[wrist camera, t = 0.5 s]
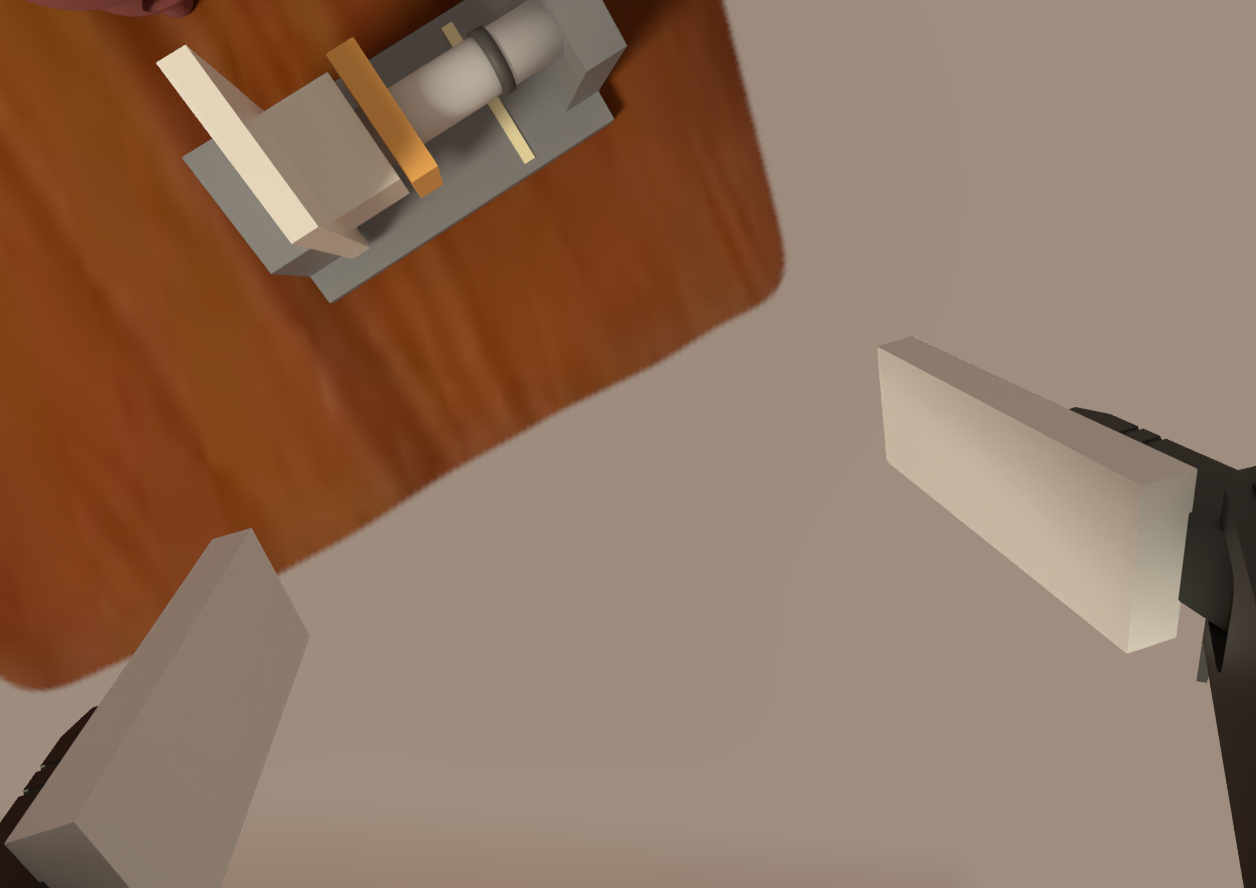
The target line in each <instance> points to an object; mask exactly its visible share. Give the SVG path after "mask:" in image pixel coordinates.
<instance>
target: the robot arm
mask: <svg viewBox="0 0 1256 888" xmlns="http://www.w3.org/2000/svg"><path fill="white" fill-rule="evenodd" d="M877 350H878V362H879V373H880V386H881V397H882V410H883V422H884V433H885V445H886V457H887V462H888V463H890V464H891V465H892V466H894V467H895V468H896V469H897V470H898V471H900V472H901V473H902V474H904V475H905V476H906V477H907V478H908V479H910V480H911V481H912V482H913V483H915V484H916V485H917V486H919V487H920V488H921V489H922V490H923V491H925V492H926V493H927V494H928V495H930V496H931V497H932V498H933V499H935V500H936V501H937V502H938V503H940V504H941V505H942V506H943V507H945V508H946V509H947V510H948V511H950V512H951V513H952V514H953V515H955V516H956V517H957V518H958V519H960V520H961V521H962V522H963V523H965V524H966V525H967V526H968V527H970V528H971V529H972V530H974V531H975V532H976V533H977V534H978V535H980V536H981V537H982V538H983V539H985V540H986V541H987V542H988V543H990V544H991V545H992V546H993V547H995V548H996V549H997V550H998V551H1000V552H1001V553H1002V554H1003V555H1005V556H1006V557H1007V558H1008V559H1010V560H1011V561H1012V562H1014V563H1015V564H1016V565H1017V566H1018V567H1020V568H1021V569H1022V570H1023V571H1025V572H1026V573H1027V574H1028V575H1030V576H1031V577H1032V578H1033V579H1035V580H1036V581H1037V582H1038V583H1040V584H1041V585H1042V586H1043V587H1044V588H1046V589H1047V590H1048V591H1049V592H1051V593H1052V594H1053V595H1054V596H1056V597H1057V598H1058V599H1059V600H1061V601H1062V602H1063V603H1064V604H1066V605H1067V606H1068V607H1069V608H1071V609H1072V610H1073V611H1074V612H1076V613H1077V614H1078V615H1079V616H1081V617H1082V618H1083V619H1084V620H1086V621H1087V622H1088V623H1090V624H1091V625H1092V626H1093V627H1094V628H1096V629H1097V630H1098V631H1099V632H1101V633H1102V634H1103V635H1104V636H1106V637H1107V638H1108V639H1109V640H1111V641H1112V642H1113V643H1114V644H1116V645H1117V646H1118V647H1119V648H1121V649H1122V650H1123V651H1125V652H1126V653H1130V652H1133V651H1136V650H1139V649H1142V648H1145V647H1148V646H1151V645H1154V644H1157V643H1160V642H1163V641H1166V640H1169V639H1172V638H1175V637H1176V634H1177V626H1178V618H1179V611H1180V603H1181V602H1182V603H1183V604H1185V605H1186V606H1188V607H1189V608H1191V609H1192V610H1194V611H1195V612H1197V613H1198V614H1200V615H1201V616H1203V617H1204V618H1206V620H1205V627H1204V634H1203V641H1202V647H1201V654H1200V661H1199V668H1198V675H1197V681H1199V682H1205V683H1206V682H1207V680H1208V676H1209V681H1210V687H1211V692H1212V699H1213V705H1214V710H1215V717H1216V723H1217V728H1218V735H1219V741H1220V747H1221V752H1222V759H1223V765H1224V771H1225V777H1226V783H1227V789H1228V794H1229V801H1230V807H1231V812H1232V819H1233V825H1234V831H1235V837H1236V843H1237V849H1238V855H1239V860H1240V867H1241V873H1242V879H1243V884H1244V888H1256V466H1254V467H1250V468H1246V469H1241V470H1236V469H1234V468H1232V467H1229V466H1227V465H1225V464H1222V463H1220V462H1218V461H1216V460H1213V459H1211V458H1209V457H1207V456H1204V455H1202V454H1200V453H1198V452H1195V451H1193V450H1191V449H1188V448H1186V447H1184V446H1182V445H1179V444H1177V443H1174V442H1173V441H1170V440H1168V439H1164V440H1162V439H1161V437H1160V436H1159V435H1157V434H1154V433H1152V432H1150V431H1147V430H1145V429H1140V430H1139V429H1138V426H1136V425H1134V424H1132V423H1129V422H1127V421H1125V420H1122V419H1120V418H1118V417H1116V416H1113V415H1111V414H1107V413H1101V412H1097V411H1092V410H1087V409H1082V408H1077V407H1075V408H1071V409H1067V408H1064V407H1062V406H1060V405H1058V404H1056V403H1054V402H1052V401H1049V400H1047V399H1045V398H1043V397H1041V396H1039V395H1036V394H1034V393H1032V392H1030V391H1028V390H1026V389H1023V388H1021V387H1019V386H1017V385H1015V384H1013V383H1011V382H1008V381H1006V380H1004V379H1002V378H1000V377H998V376H995V375H993V374H991V373H989V372H987V371H985V370H982V369H980V368H978V367H976V366H974V365H972V364H969V363H967V362H965V361H963V360H961V359H959V358H956V357H954V356H952V355H950V354H948V353H946V352H943V351H941V350H939V349H937V348H935V347H933V346H930V345H928V344H926V343H924V342H922V341H920V340H917V339H915V338H913V337H908V338H905V339H901V340H898V341H895V342H891V343H888V344H884V345H881V346H877ZM309 637H310V636H309V634H308V632H307V630H306V628H305V626H304V624H303V622H302V621H301V619H300V617H299V615H298V613H297V611H296V610H295V608H294V606H293V604H292V602H291V600H290V599H289V597H288V595H287V593H286V591H285V589H284V587H283V585H282V584H281V582H280V580H279V578H278V576H277V574H276V572H275V571H274V569H273V567H272V565H271V563H270V561H269V560H268V558H267V556H266V554H265V552H264V550H263V548H262V547H261V545H260V543H259V541H258V539H257V537H256V535H255V534H254V532H253V530H252V528H250V529H247V530H243V531H240V532H236V533H233V534H229V535H226V536H222V537H219V538H216V539H212V541H211V542H210V544H209V545H208V547H207V548H206V549H205V551H204V552H203V554H202V555H201V557H200V558H199V560H198V561H197V563H196V564H195V566H194V567H193V569H192V570H191V571H190V573H189V574H188V576H187V577H186V579H185V580H184V582H183V583H182V585H181V586H180V588H179V589H178V590H177V592H176V593H175V595H174V596H173V598H172V599H171V601H170V602H169V604H168V605H167V607H166V608H165V609H164V611H163V612H162V614H161V615H160V617H159V618H158V620H157V621H156V623H155V624H154V626H153V627H152V628H151V630H150V631H149V633H148V634H147V636H146V637H145V639H144V640H143V642H142V643H141V645H140V646H139V647H138V649H137V650H136V652H135V653H134V655H133V656H132V658H131V659H130V661H129V662H128V664H127V665H126V666H125V668H124V669H123V671H122V672H121V674H120V675H119V677H118V678H117V680H116V681H115V683H114V684H113V685H112V687H111V688H110V690H109V691H108V693H107V694H106V696H105V697H104V699H103V700H102V702H101V703H100V705H99V706H96V707H93V708H92V709H91V710H89V711H88V712H87V713H86V714H85V715H84V716H83V717H82V718H81V719H80V720H79V721H78V722H77V723H75V724H74V725H73V726H72V727H71V728H70V729H69V730H68V731H67V732H66V733H65V734H64V735H63V736H62V737H61V738H60V739H59V741H58V742H57V744H56V745H55V746H54V748H53V749H52V751H51V752H50V753H49V755H48V756H47V757H46V759H45V760H44V762H43V763H42V765H41V766H40V767H41V771H38V772H36V773H35V775H34V776H33V777H32V779H31V780H30V781H29V783H28V785H27V786H26V787H25V788H24V790H23V792H24V795H23V796H20V797H18V798H17V800H16V801H15V803H14V804H13V805H12V807H11V808H10V810H9V811H8V812H7V814H6V815H5V817H4V818H3V819H2V821H1V822H0V888H221V885H222V882H223V879H224V877H225V874H226V871H227V868H228V865H229V862H230V860H231V857H232V854H233V851H234V848H235V846H236V843H237V840H238V837H239V834H240V832H241V829H242V826H243V823H244V820H245V817H246V815H247V812H248V809H249V806H250V803H251V801H252V798H253V795H254V792H255V789H256V786H257V784H258V781H259V778H260V775H261V772H262V769H263V767H264V764H265V761H266V758H267V755H268V753H269V750H270V747H271V744H272V741H273V738H274V736H275V733H276V730H277V727H278V724H279V722H280V719H281V716H282V713H283V710H284V707H285V705H286V702H287V699H288V696H289V693H290V691H291V688H292V685H293V682H294V679H295V676H296V674H297V671H298V668H299V665H300V662H301V659H302V657H303V654H304V651H305V648H306V645H307V643H308V640H309Z"/></svg>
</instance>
